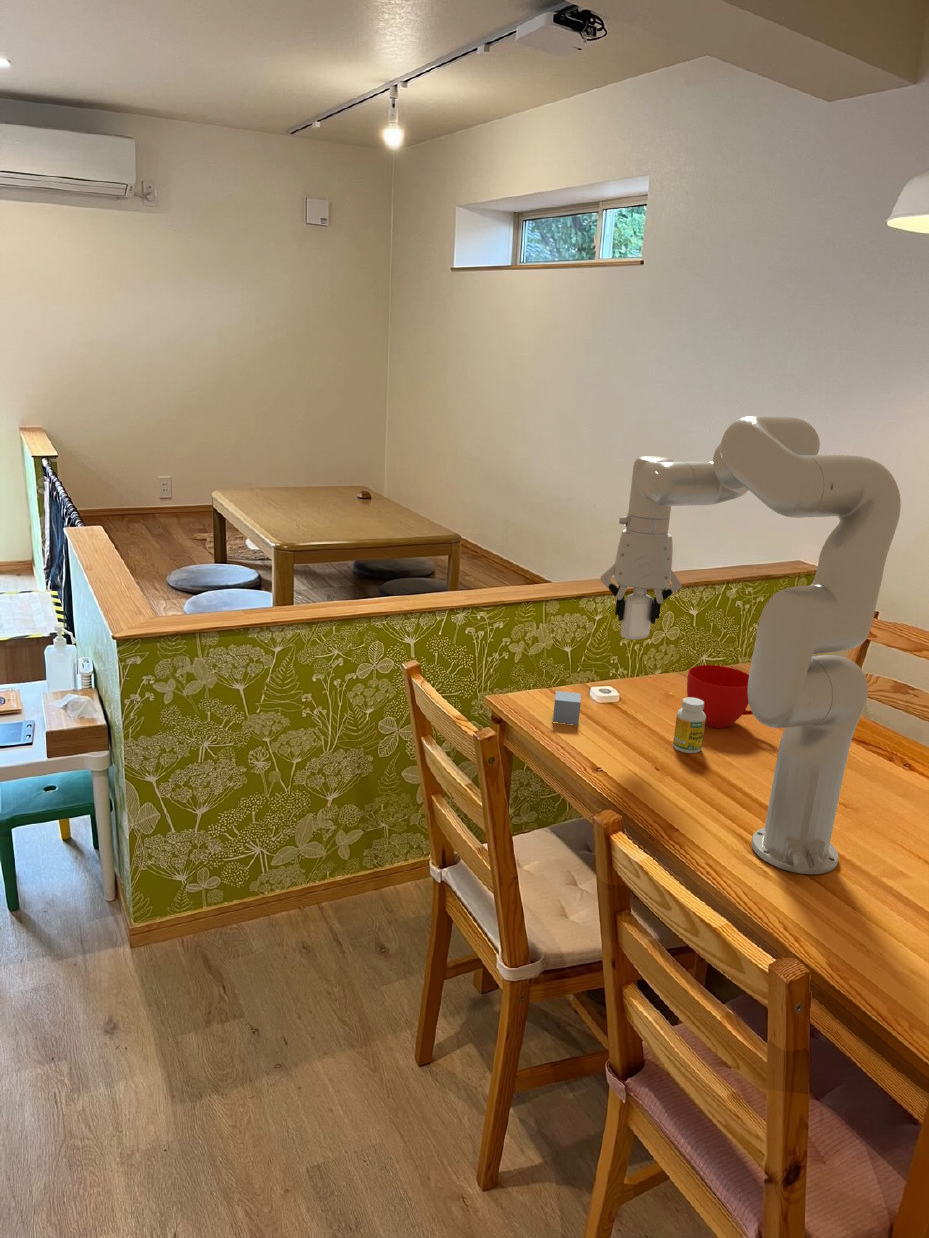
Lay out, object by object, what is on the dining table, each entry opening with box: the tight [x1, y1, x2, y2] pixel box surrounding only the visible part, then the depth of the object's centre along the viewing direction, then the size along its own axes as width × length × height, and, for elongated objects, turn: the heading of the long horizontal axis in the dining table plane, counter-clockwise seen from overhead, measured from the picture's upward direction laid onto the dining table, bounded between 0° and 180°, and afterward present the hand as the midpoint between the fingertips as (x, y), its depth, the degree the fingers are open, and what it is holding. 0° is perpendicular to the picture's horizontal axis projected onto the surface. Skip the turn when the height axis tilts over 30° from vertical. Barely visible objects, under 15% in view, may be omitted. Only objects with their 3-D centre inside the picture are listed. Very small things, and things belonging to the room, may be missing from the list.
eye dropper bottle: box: [620, 587, 654, 640], centre depth 177 cm, size 4×6×12 cm
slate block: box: [552, 690, 582, 726], centre depth 189 cm, size 5×5×5 cm
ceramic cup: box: [686, 664, 753, 729], centre depth 191 cm, size 13×17×10 cm
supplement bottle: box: [672, 696, 706, 754], centre depth 179 cm, size 5×5×10 cm
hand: (636, 619), depth 178 cm, fingers closed on eye dropper bottle, 5 cm apart
